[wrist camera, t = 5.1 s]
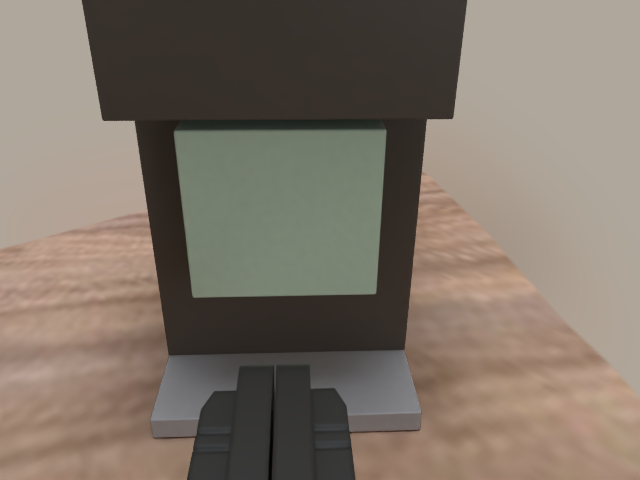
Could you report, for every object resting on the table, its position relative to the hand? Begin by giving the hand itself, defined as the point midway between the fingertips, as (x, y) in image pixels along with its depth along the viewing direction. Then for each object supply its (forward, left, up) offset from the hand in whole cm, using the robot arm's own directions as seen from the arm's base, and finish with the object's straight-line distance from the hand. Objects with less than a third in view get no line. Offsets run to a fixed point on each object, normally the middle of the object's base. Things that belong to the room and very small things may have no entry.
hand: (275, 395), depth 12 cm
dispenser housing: (+10, +8, -9) cm, 16 cm away
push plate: (+7, +6, -3) cm, 10 cm away
